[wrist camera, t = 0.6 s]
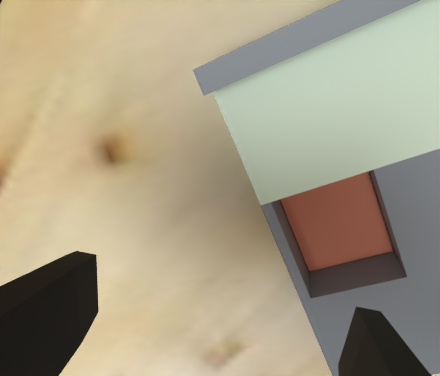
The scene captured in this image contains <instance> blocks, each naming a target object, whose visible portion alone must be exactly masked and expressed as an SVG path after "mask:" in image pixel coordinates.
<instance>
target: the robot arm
mask: <svg viewBox="0 0 440 376" xmlns="http://www.w3.org/2000/svg"><path fill="white" fill-rule="evenodd" d="M97 313H98V289H97V263H96V255H94V254H89V253H84V252H79V251H75V252H73V253H70V254H68V255H66V256H63V257H61V258H59V259H57V260H55V261H53V262H51V263H48V264H46V265H44V266H42V267H40V268H38V269H36V270H34V271H32V272H30V273H28V274H25V275H23V276H21V277H19V278H17V279H15V280H13V281H11V282H8V283H6V284H4V285H2V286H0V376H59V374H60V373H61V372H62V370H63V369H64V367H65V366H66V365H67V363H68V362H69V360H70V359H71V357H72V356H73V355H74V353H75V352H76V350H77V349H78V347H79V346H80V345H81V343H82V341H83V339H84V338H85V336H86V334H87V332H88V330H89V329H90V327H91V325H92V323H93V321H94V319H95V317H96V315H97ZM338 372H339V376H432V375H431V374H430V373H429V372H428V371H427V369H426V368H425V367H424V366H423V364H422V363H421V362H420V361H419V359H418V358H417V357H416V356H415V354H414V353H413V352H412V351H411V349H410V348H409V347H408V345H407V344H406V343H405V342H404V340H403V339H402V338H401V337H400V335H399V334H398V333H397V331H396V330H395V329H394V327H393V326H392V325H391V324H390V322H389V321H388V320H387V319H386V317H385V316H384V315H383V314H382V312H381V311H377V310H372V309H367V308H362V307H357V306H356V308H355V311H354V315H353V318H352V321H351V324H350V328H349V331H348V334H347V337H346V341H345V344H344V347H343V350H342V354H341V357H340V360H339V363H338Z"/></svg>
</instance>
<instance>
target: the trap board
mask: <svg viewBox="0 0 440 376" xmlns="http://www.w3.org/2000/svg"><path fill="white" fill-rule="evenodd" d="M193 72H194V74H195V76H196V79H197V81H198V83H199V86H200V88H201V90H202V92H203V95H206V94H209V93H211V92H213V95H214V97H215V99H216V102H217V104H218V106H219V109H220V111H221V113H222V116H223V118H224V120H225V123H226V125H227V128H228V130H229V132H230V135H231V137H232V139H233V142H234V144H235V146H236V149H237V151H238V154H239V156H240V158H241V161H242V163H243V165H244V168H245V170H246V172H247V175H248V177H249V179H250V182H251V184H252V187H253V189H254V191H255V194H256V196H257V198H258V201H259V203H260V205H261V208H262V210H263V213H264V215H265V217H266V220H267V222H268V224H269V227H270V229H271V231H272V234H273V236H274V238H275V241H276V243H277V246H278V248H279V250H280V253H281V255H282V257H283V260H284V262H285V264H286V267H287V269H288V272H289V274H290V276H291V279H292V281H293V283H294V286H295V288H296V290H297V293H298V295H299V297H300V300H301V302H302V305H303V307H304V309H305V312H306V314H307V316H308V319H309V321H310V323H311V326H312V328H313V331H314V333H315V335H316V338H317V340H318V342H319V345H320V347H321V349H322V352H323V354H324V356H325V359H326V361H327V364H328V366H329V368H330V371H331V373H332V375H333V376H339V372H338V363H339V360H340V357H341V354H342V350H343V347H344V344H345V341H346V337H347V334H348V331H349V328H350V324H351V321H352V318H353V315H354V311H355V308H356V306H357V307H362V308H367V309H372V310H377V311H381V312H382V314H383V315H384V316H385V317H386V319H387V320H388V321H389V322H390V324H391V325H392V326H393V327H394V329H395V330H396V331H397V333H398V334H399V335H400V337H401V338H402V339H403V340H404V342H405V343H406V344H407V345H408V347H409V348H410V349H411V351H412V352H413V353H414V354H415V356H416V357H417V358H418V359H419V361H420V362H421V363H422V364H423V366H424V367H425V368H426V369H427V371H428V372H429V373H430V374H431V375H432V374H439V373H440V0H341V1H339V2H336V3H334V4H332V5H330V6H328V7H326V8H324V9H322V10H319V11H317V12H315V13H313V14H311V15H309V16H307V17H304V18H302V19H300V20H298V21H296V22H294V23H292V24H290V25H287V26H285V27H283V28H281V29H279V30H277V31H275V32H272V33H270V34H268V35H266V36H264V37H262V38H260V39H258V40H255V41H253V42H251V43H249V44H247V45H245V46H243V47H240V48H238V49H236V50H234V51H232V52H230V53H228V54H226V55H223V56H221V57H219V58H217V59H215V60H213V61H211V62H208V63H206V64H204V65H202V66H200V67H198V68H196V69H194V70H193ZM368 171H369V173H368ZM369 174H370V176H369ZM370 177H371V179H370ZM371 180H372V182H371ZM372 183H373V185H372ZM373 187H374V189H373ZM374 190H375V192H374ZM375 193H376V195H375ZM376 196H377V198H376ZM377 199H378V201H377ZM378 202H379V204H378ZM379 205H380V207H379ZM380 209H381V210H380ZM381 212H382V214H381ZM382 215H383V217H382ZM383 218H384V220H383ZM384 221H385V223H384ZM385 224H386V226H385ZM386 228H387V229H386ZM387 231H388V232H387ZM388 234H389V236H388ZM389 237H390V239H389ZM390 240H391V242H390ZM391 243H392V245H391ZM392 246H393V248H392Z"/></svg>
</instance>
